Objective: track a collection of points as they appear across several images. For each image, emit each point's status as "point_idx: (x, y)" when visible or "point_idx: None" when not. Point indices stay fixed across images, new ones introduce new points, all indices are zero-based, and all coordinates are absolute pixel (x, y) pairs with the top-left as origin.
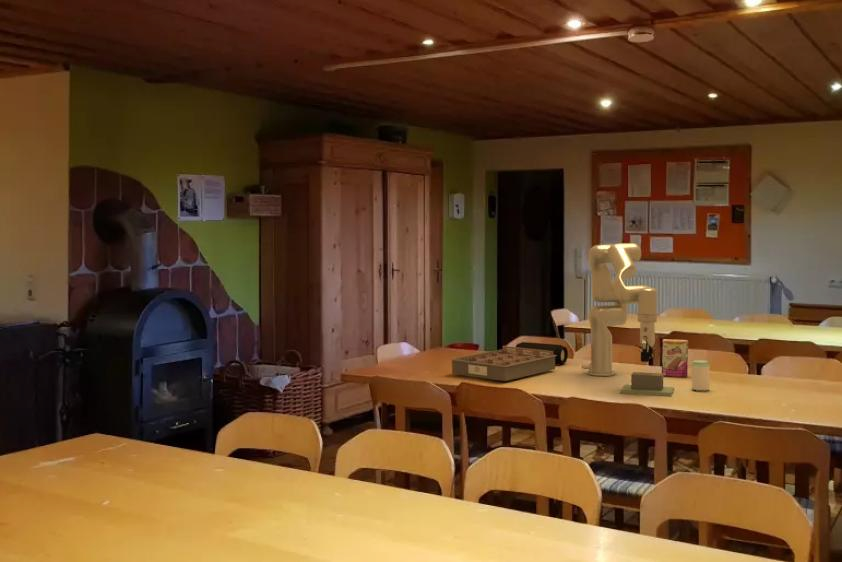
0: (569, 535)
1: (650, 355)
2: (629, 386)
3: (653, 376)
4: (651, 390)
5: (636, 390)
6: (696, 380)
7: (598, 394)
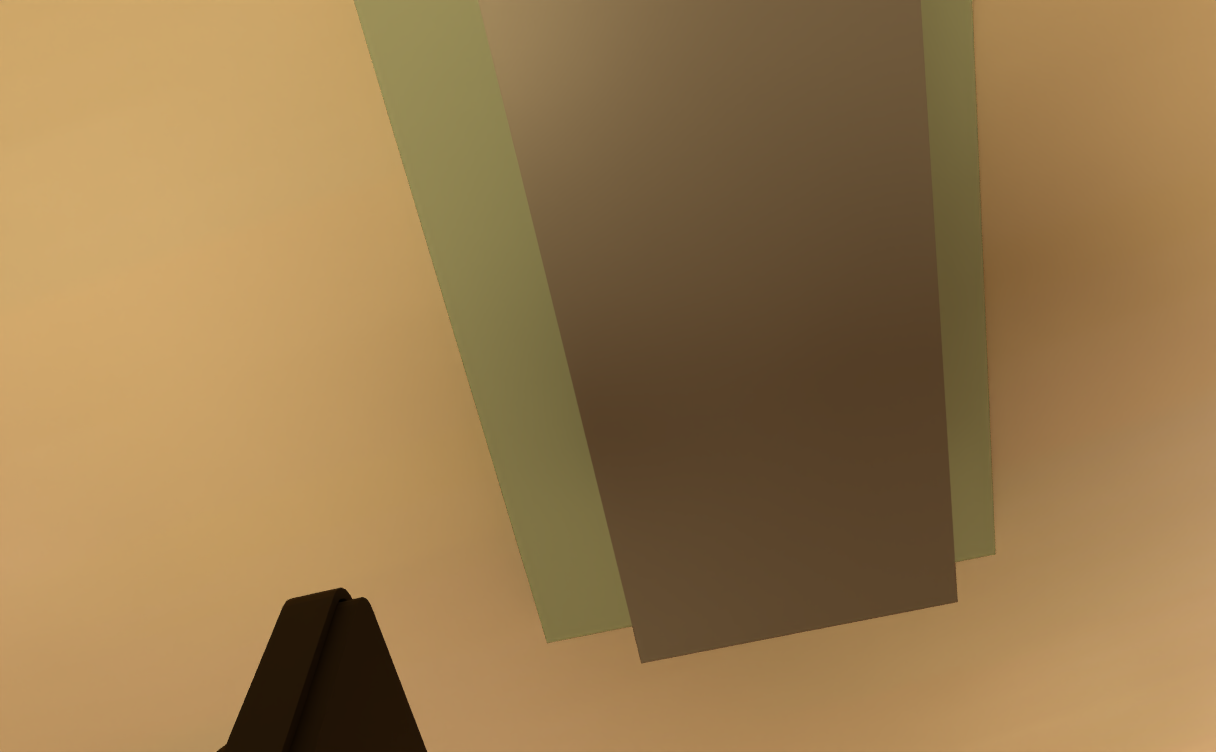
0: None
1: (364, 673)
2: None
3: (918, 125)
4: None
5: (961, 335)
6: None
7: (1123, 707)
